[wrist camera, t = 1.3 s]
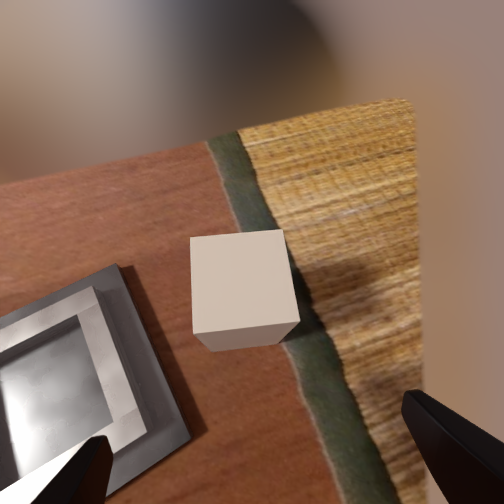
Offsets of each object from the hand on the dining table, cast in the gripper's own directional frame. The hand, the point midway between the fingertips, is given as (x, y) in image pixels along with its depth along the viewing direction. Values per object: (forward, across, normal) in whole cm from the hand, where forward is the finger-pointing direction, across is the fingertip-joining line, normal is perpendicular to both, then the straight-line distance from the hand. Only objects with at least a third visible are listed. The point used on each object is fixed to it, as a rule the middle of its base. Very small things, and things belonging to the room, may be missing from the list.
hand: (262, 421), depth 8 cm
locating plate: (+10, +13, +8) cm, 18 cm away
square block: (+13, 0, +5) cm, 14 cm away
